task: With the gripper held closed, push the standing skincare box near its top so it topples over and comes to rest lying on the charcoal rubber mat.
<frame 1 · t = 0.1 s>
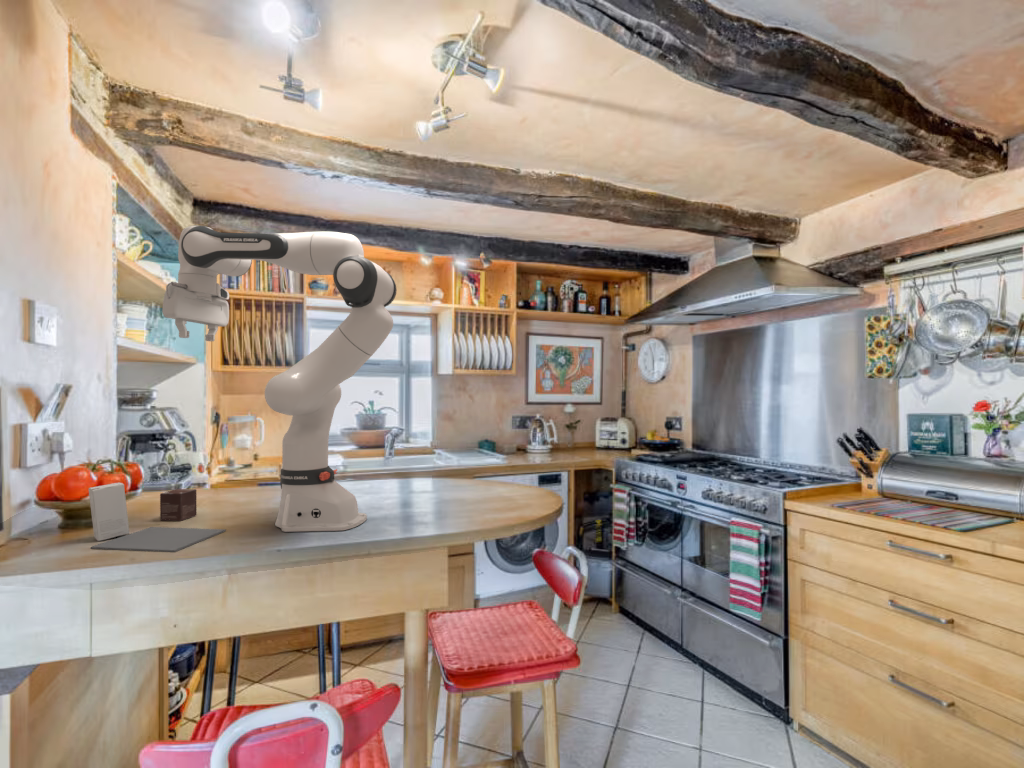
hand: (197, 339, 136), 48 cm above the table, tool pointing down, fingers open, 8 cm apart
box: (178, 519, 136), on the table
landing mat: (162, 539, 117), on the table
skincare box: (111, 537, 118), on the table, touching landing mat
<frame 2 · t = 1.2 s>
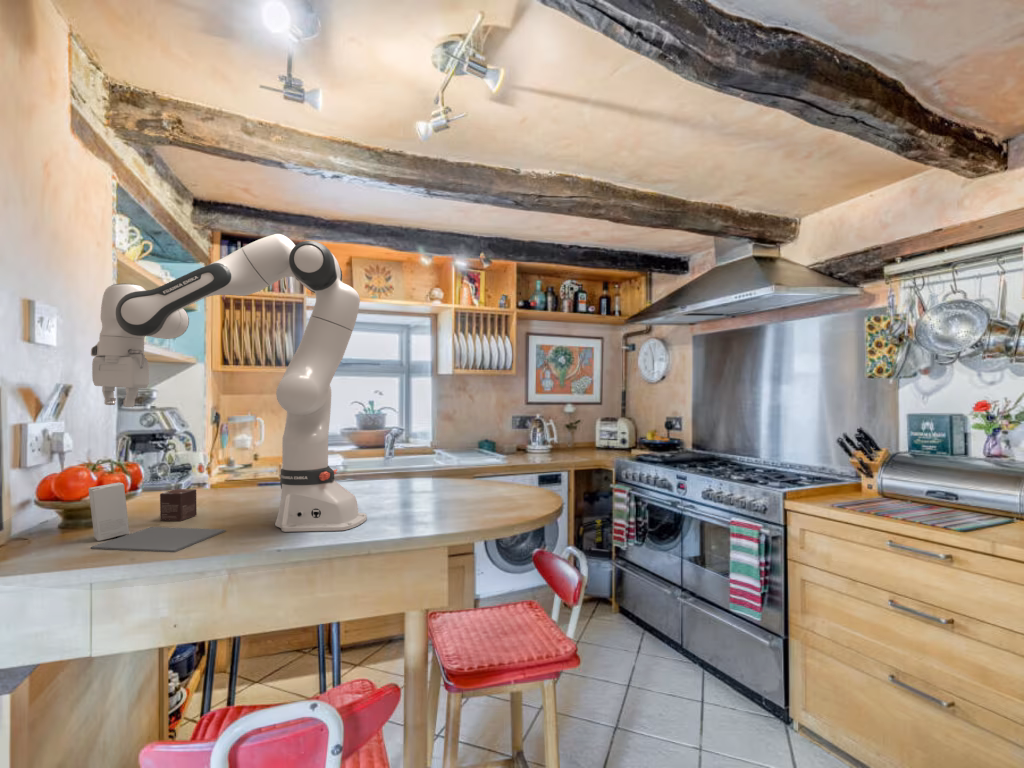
hand: (119, 405, 125), 31 cm above the table, tool pointing down, fingers open, 8 cm apart
nothing on the table moved.
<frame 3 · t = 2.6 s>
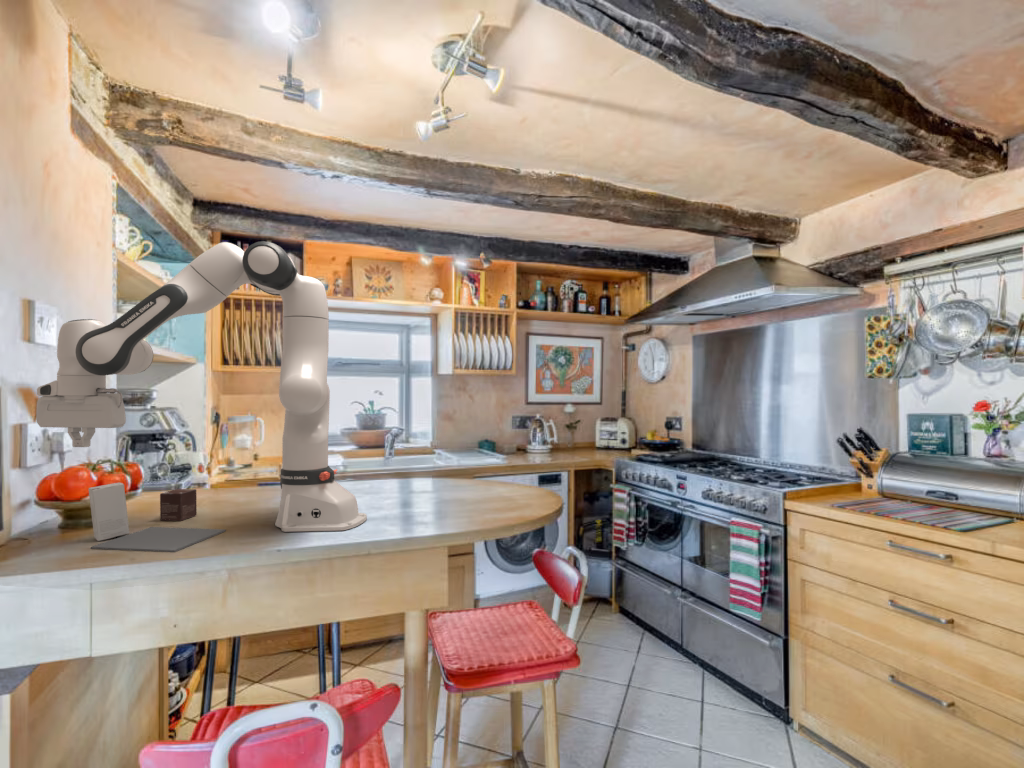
hand: (81, 446, 119), 21 cm above the table, tool pointing down, fingers closed
nothing on the table moved.
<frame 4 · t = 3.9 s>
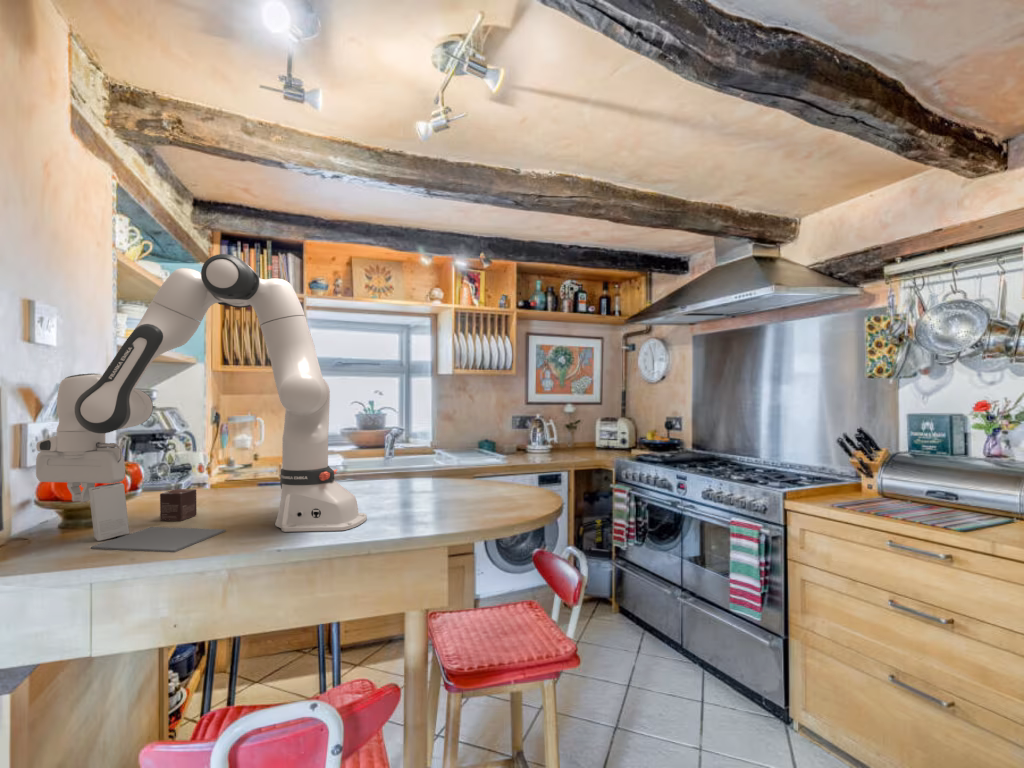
hand: (81, 501, 119), 8 cm above the table, tool pointing down, fingers closed
nothing on the table moved.
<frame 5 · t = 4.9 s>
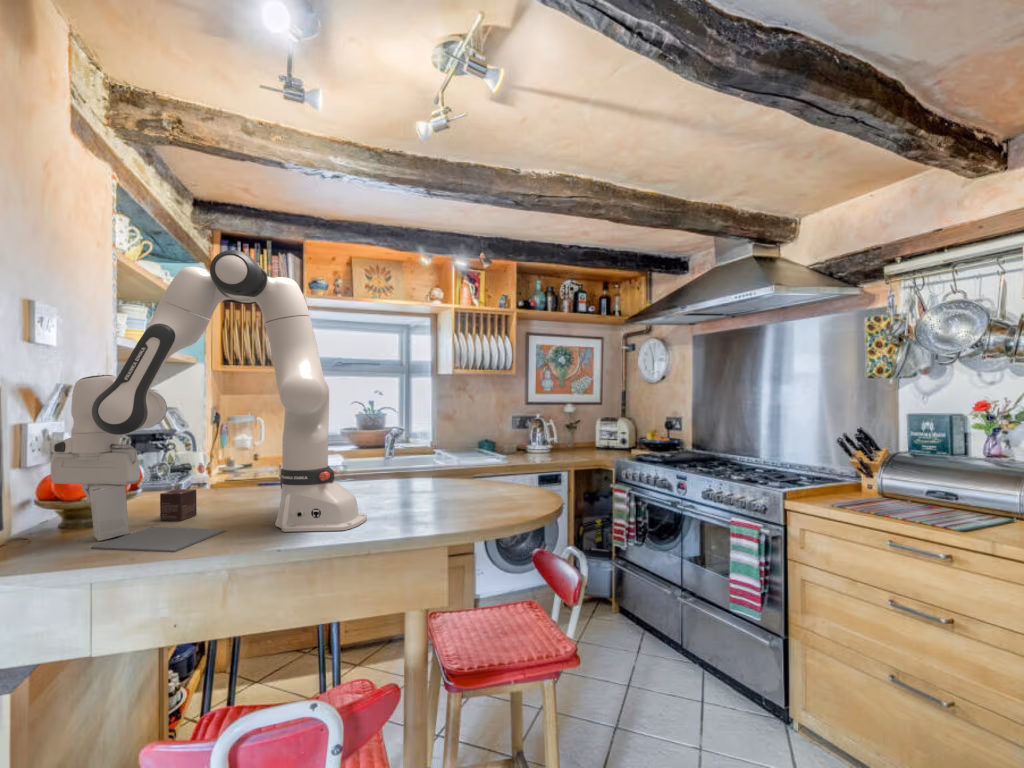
hand: (95, 503, 119), 8 cm above the table, tool pointing down, fingers closed
skincare box: (111, 536, 118), on the table, touching gripper, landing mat
everything else where it was.
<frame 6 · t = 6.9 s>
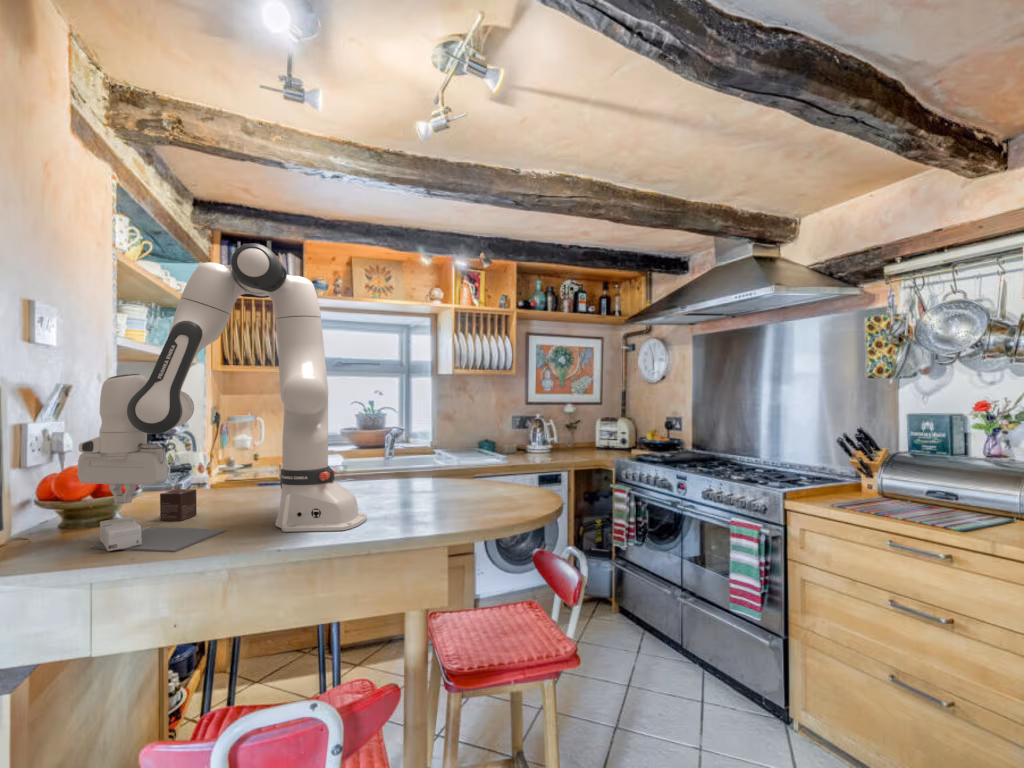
hand: (123, 503, 118), 8 cm above the table, tool pointing down, fingers closed
skincare box: (115, 528, 117), point 2 cm above the table, touching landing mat
everything else where it was.
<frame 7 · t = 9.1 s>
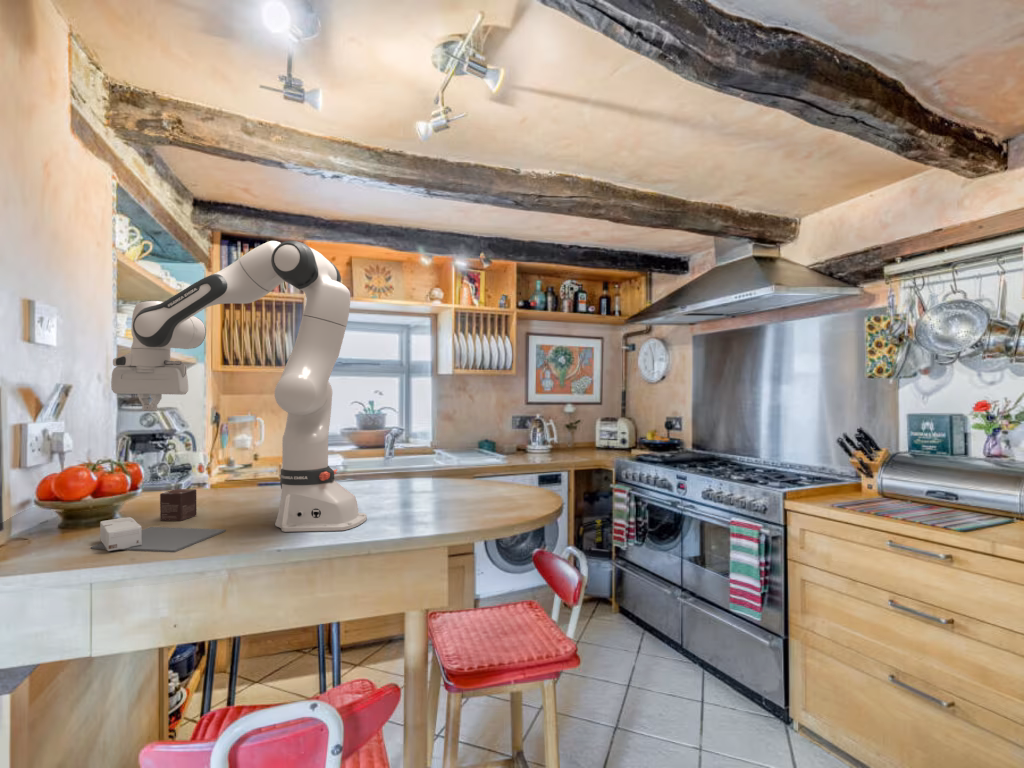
hand: (149, 411, 139), 29 cm above the table, tool pointing down, fingers closed
nothing on the table moved.
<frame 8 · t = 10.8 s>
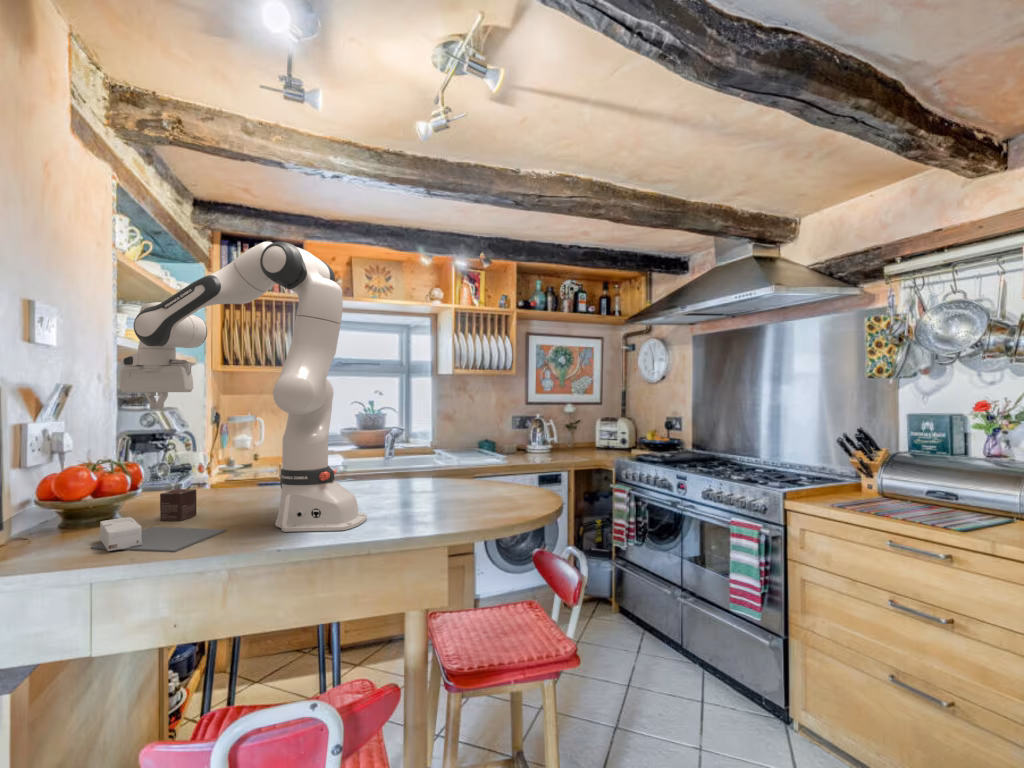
hand: (156, 408, 144), 29 cm above the table, tool pointing down, fingers closed
nothing on the table moved.
at the end: skincare box tilted 89°; skincare box touching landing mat; skincare box inside the target area (5.8 cm from its centre), point 2.4 cm above the table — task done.
